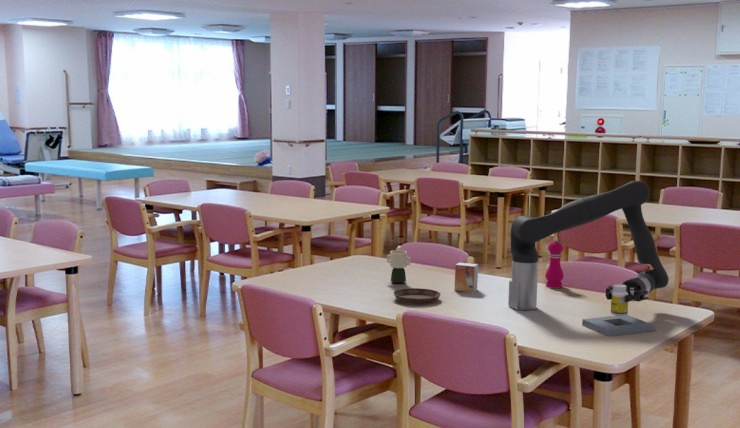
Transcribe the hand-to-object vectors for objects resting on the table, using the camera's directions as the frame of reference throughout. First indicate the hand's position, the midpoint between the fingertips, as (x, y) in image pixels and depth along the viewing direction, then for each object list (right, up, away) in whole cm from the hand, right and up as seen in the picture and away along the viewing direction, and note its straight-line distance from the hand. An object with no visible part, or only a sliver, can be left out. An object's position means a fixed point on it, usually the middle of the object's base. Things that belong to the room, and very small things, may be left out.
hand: (616, 297), depth 269 cm
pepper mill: (-6, -2, +63) cm, 64 cm away
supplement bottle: (+2, -6, +3) cm, 7 cm away
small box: (-43, -3, +55) cm, 70 cm away
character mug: (-69, -1, +67) cm, 97 cm away
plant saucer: (-63, -5, +39) cm, 75 cm away
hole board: (+1, -10, +3) cm, 11 cm away
